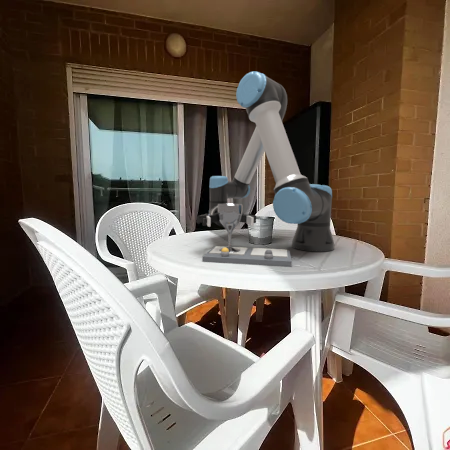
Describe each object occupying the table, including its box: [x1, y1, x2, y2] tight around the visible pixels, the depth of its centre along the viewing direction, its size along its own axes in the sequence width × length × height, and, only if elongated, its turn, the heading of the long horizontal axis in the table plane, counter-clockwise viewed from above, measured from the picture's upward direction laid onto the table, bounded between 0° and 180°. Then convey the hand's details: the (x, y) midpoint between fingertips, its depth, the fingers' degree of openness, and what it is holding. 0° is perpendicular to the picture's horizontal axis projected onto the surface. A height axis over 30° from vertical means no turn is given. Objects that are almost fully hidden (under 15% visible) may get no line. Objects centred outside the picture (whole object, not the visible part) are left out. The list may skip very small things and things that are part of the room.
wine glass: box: [218, 202, 243, 252], centre depth 87 cm, size 8×8×15 cm
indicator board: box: [201, 245, 293, 268], centre depth 85 cm, size 26×15×4 cm, turn 79°
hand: (231, 222), depth 84 cm, fingers open, 13 cm apart
